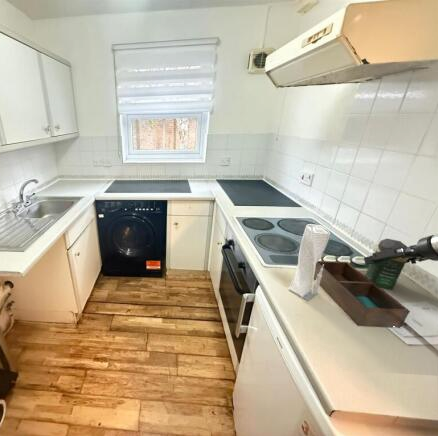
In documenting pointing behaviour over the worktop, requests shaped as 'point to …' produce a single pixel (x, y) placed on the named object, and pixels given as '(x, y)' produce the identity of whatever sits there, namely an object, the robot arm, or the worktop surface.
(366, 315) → the organiser
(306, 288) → the skyscraper
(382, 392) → the worktop surface
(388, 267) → the coffee jar
